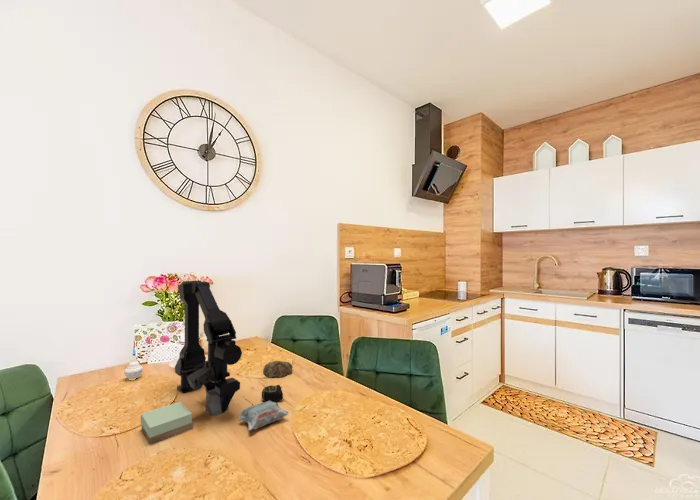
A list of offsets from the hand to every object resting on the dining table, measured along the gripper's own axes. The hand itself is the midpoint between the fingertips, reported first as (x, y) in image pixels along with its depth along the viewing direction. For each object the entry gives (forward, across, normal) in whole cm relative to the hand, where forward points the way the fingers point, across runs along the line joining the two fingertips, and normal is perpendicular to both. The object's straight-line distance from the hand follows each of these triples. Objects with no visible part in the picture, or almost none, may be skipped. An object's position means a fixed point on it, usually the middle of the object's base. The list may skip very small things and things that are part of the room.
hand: (217, 407), depth 94 cm
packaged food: (+2, +17, +6) cm, 18 cm away
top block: (-1, 0, -14) cm, 14 cm away
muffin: (+1, -50, -12) cm, 51 cm away
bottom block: (+2, 0, -14) cm, 14 cm away
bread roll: (+2, -13, +31) cm, 34 cm away
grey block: (+1, 0, 0) cm, 1 cm away
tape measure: (+1, +6, +17) cm, 18 cm away
